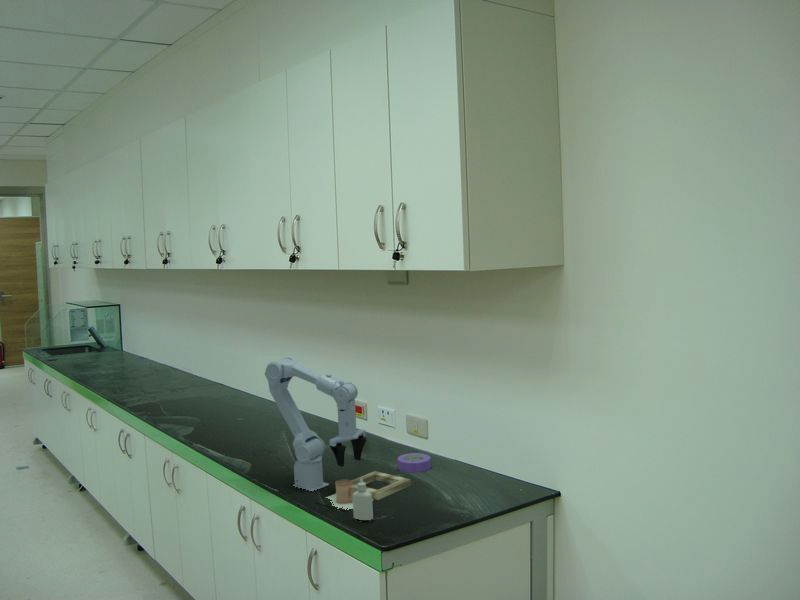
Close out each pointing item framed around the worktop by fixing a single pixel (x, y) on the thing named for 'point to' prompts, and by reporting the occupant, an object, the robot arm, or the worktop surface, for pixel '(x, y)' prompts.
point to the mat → (345, 506)
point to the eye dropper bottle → (362, 503)
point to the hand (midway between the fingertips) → (349, 462)
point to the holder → (394, 481)
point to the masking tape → (414, 462)
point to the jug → (344, 491)
